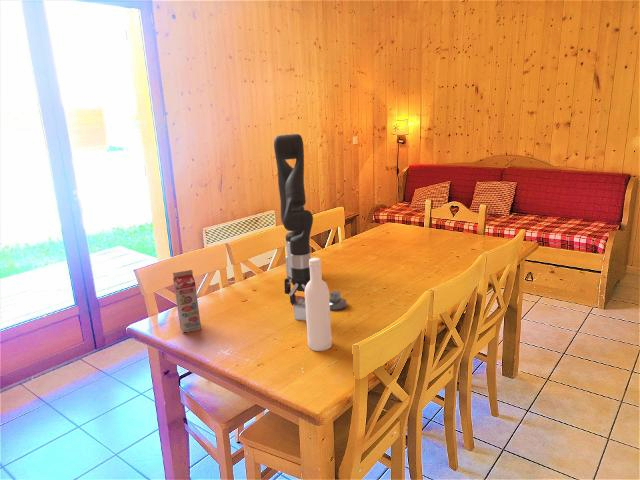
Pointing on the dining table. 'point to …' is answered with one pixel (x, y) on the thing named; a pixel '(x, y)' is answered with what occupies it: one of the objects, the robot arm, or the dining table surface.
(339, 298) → the ratchet
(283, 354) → the dining table surface
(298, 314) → the socket
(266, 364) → the dining table surface
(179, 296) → the juice carton
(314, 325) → the bottle
